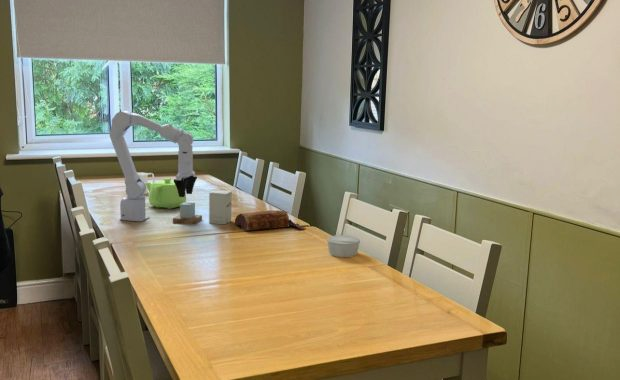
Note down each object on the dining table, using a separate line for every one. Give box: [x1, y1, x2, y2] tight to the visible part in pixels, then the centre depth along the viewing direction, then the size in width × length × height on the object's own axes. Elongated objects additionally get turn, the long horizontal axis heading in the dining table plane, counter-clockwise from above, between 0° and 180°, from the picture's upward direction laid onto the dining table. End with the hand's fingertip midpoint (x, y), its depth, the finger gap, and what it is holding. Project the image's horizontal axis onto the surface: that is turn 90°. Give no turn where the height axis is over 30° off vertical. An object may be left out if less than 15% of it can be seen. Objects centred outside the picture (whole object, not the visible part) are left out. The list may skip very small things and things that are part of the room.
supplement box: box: [208, 189, 233, 225], centre depth 242 cm, size 7×7×13 cm
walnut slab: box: [172, 214, 203, 225], centre depth 243 cm, size 9×9×2 cm
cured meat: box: [234, 209, 305, 232], centre depth 237 cm, size 18×25×7 cm
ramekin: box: [326, 234, 361, 258], centre depth 201 cm, size 11×11×5 cm
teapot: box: [146, 177, 187, 210], centre depth 271 cm, size 18×20×13 cm
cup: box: [137, 172, 156, 195], centre depth 303 cm, size 8×12×10 cm
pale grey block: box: [179, 201, 196, 218], centre depth 242 cm, size 4×4×6 cm
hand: (185, 195), depth 243 cm, fingers open, 7 cm apart
